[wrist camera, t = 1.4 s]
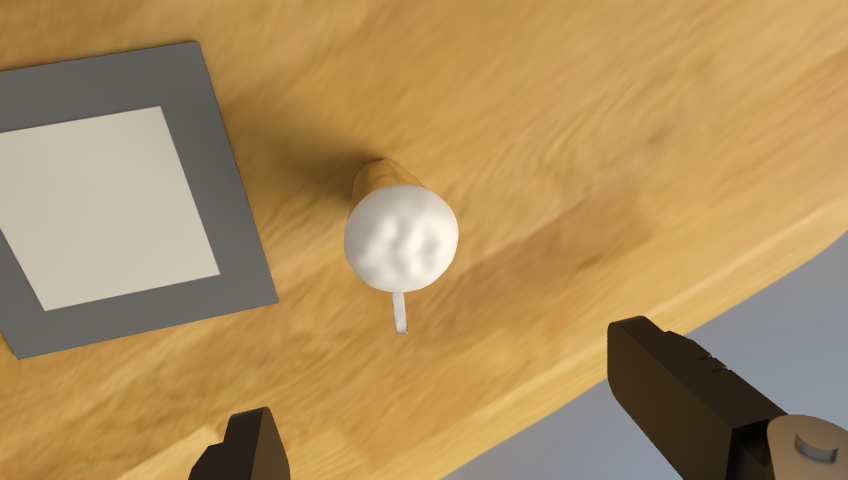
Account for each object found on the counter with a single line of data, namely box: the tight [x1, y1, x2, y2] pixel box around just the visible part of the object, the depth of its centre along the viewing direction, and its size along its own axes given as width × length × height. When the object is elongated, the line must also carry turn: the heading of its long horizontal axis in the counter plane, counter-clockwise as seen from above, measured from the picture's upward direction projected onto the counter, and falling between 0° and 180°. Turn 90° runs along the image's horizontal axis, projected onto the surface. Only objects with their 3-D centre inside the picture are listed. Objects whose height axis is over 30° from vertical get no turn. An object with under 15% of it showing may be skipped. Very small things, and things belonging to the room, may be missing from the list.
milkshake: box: [344, 159, 458, 334], centre depth 22 cm, size 5×5×10 cm
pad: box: [0, 41, 279, 360], centre depth 24 cm, size 14×14×1 cm
